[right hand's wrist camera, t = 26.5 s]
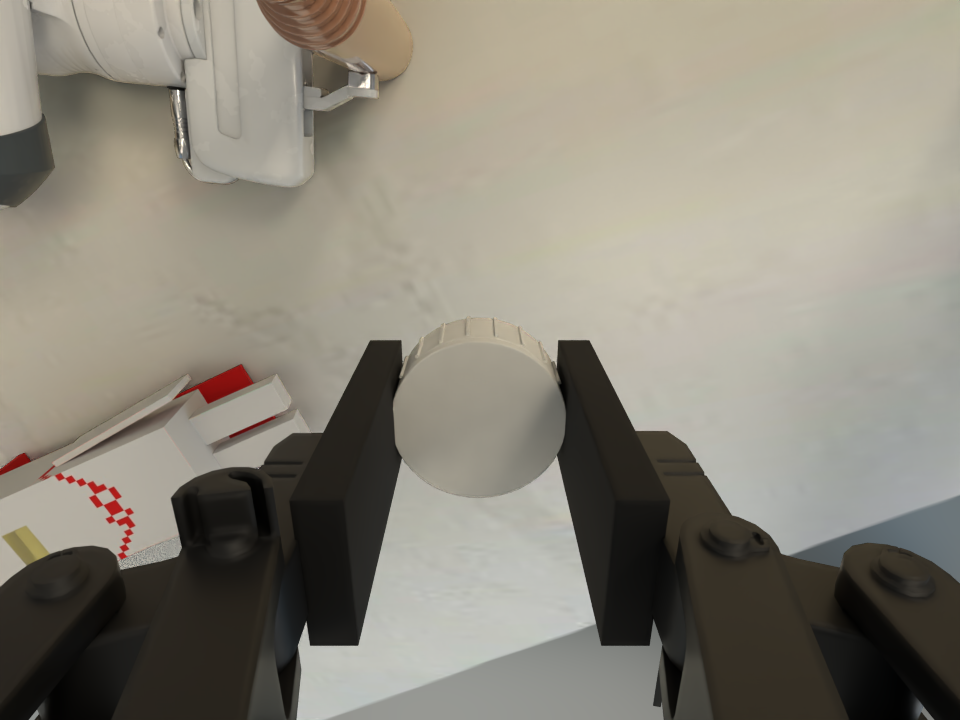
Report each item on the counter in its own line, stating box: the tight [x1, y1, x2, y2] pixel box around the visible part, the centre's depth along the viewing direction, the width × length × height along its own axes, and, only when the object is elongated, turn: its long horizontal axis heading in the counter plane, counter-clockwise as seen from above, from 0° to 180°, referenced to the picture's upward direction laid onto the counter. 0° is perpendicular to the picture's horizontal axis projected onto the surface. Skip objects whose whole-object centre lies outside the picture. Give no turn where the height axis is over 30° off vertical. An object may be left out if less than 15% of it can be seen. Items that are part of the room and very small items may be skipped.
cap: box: [393, 317, 566, 498], centre depth 14 cm, size 4×4×2 cm
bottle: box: [256, 0, 413, 81], centre depth 32 cm, size 5×5×25 cm
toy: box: [0, 364, 311, 587], centre depth 51 cm, size 12×13×30 cm
